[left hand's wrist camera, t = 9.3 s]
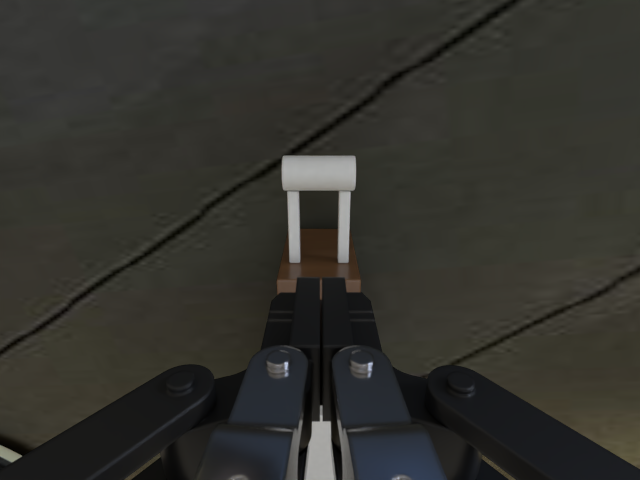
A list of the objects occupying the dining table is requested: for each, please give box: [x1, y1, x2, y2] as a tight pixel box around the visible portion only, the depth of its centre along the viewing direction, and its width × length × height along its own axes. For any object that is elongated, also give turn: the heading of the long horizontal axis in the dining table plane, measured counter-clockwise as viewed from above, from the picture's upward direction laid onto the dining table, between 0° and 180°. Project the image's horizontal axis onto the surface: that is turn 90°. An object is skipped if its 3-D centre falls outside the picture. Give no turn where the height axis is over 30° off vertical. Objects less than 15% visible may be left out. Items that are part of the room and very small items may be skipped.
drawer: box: [277, 156, 361, 405], centre depth 25 cm, size 22×4×8 cm, turn 0°
